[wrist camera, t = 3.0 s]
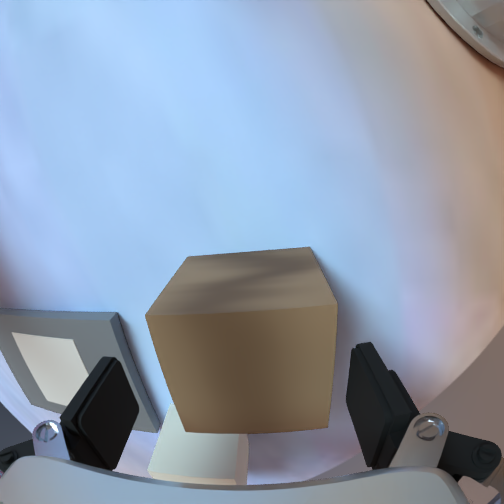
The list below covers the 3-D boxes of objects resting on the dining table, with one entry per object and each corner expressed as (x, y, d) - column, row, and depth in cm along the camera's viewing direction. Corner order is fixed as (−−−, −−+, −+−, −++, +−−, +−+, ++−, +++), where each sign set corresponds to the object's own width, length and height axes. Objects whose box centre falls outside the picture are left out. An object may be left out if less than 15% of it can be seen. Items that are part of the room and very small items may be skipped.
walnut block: (309, 246, 14) (337, 303, 8) (310, 347, 16) (327, 427, 10) (187, 256, 15) (144, 315, 9) (206, 353, 16) (185, 432, 11)
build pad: (116, 312, 16) (109, 320, 15) (160, 423, 19) (157, 433, 18) (-9, 307, 16) (-17, 312, 15) (36, 398, 19) (31, 404, 18)
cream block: (241, 404, 18) (234, 479, 12) (249, 444, 19) (245, 508, 13) (170, 403, 18) (147, 470, 12) (187, 442, 19) (172, 502, 14)
